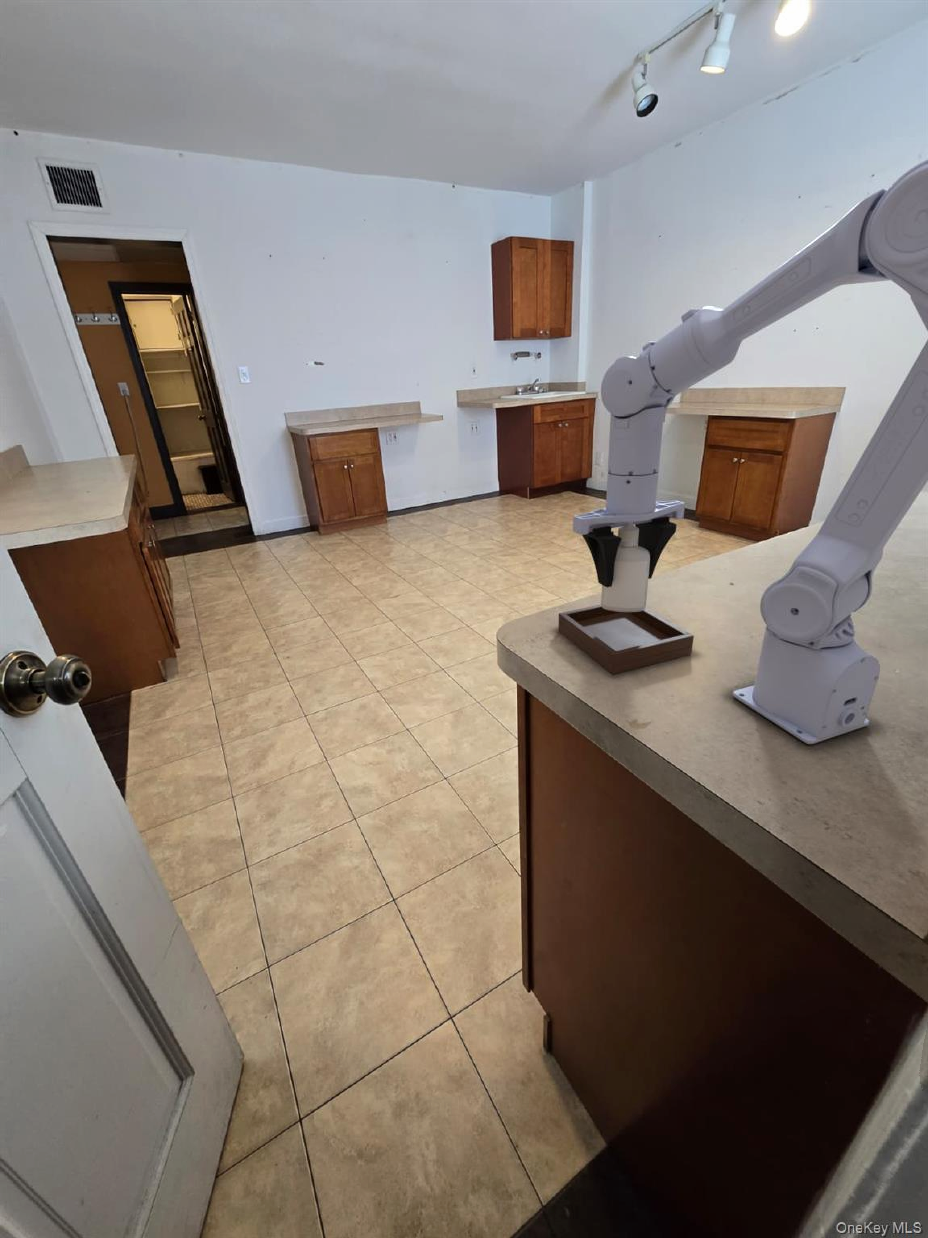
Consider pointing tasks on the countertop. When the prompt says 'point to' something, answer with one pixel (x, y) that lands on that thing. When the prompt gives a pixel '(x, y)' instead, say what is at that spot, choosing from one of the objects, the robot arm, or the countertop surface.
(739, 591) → the countertop surface
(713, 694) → the countertop surface
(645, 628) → the tray
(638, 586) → the eye dropper bottle
